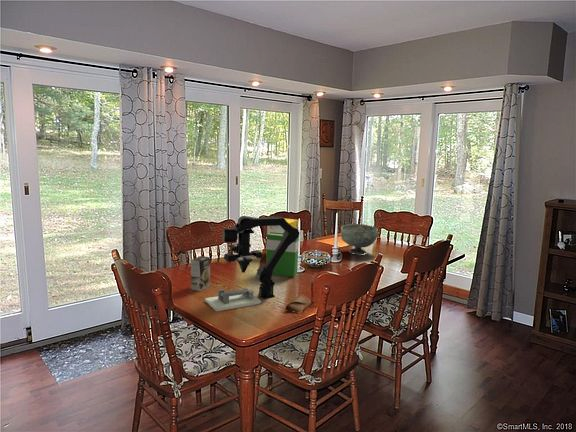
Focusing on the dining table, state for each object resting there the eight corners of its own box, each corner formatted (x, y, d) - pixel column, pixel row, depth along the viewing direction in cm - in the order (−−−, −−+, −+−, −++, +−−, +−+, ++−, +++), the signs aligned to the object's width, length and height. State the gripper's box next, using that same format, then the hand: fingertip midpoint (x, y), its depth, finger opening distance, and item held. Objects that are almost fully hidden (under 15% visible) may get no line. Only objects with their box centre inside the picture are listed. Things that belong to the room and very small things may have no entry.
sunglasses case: (302, 314, 195) (296, 301, 195) (289, 319, 198) (283, 306, 198) (315, 301, 211) (309, 289, 212) (303, 306, 214) (298, 294, 214)
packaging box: (297, 254, 299) (298, 220, 294) (287, 260, 284) (289, 223, 280) (276, 251, 305) (277, 217, 301) (266, 256, 290) (267, 220, 286)
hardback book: (265, 273, 253) (266, 234, 249) (269, 270, 260) (270, 231, 256) (294, 277, 249) (296, 237, 245) (297, 273, 256) (299, 234, 252)
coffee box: (201, 291, 219) (201, 261, 216) (190, 289, 221) (190, 259, 218) (210, 286, 227) (210, 257, 224) (199, 284, 229) (200, 255, 226)
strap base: (248, 294, 218) (248, 283, 217) (260, 303, 206) (261, 291, 205) (205, 301, 206) (205, 289, 205) (216, 311, 194) (216, 299, 193)
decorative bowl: (375, 249, 321) (376, 223, 318) (378, 259, 296) (380, 231, 293) (340, 248, 324) (340, 223, 320) (340, 258, 299) (341, 230, 295)
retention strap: (247, 290, 212) (247, 288, 211) (251, 293, 208) (251, 291, 207) (219, 294, 204) (219, 291, 204) (223, 297, 200) (223, 294, 200)
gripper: (253, 237, 219) (252, 266, 222) (219, 239, 210) (219, 270, 212) (263, 241, 210) (262, 272, 213) (229, 245, 200) (228, 276, 203)
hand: (243, 272), depth 211 cm, fingers closed
